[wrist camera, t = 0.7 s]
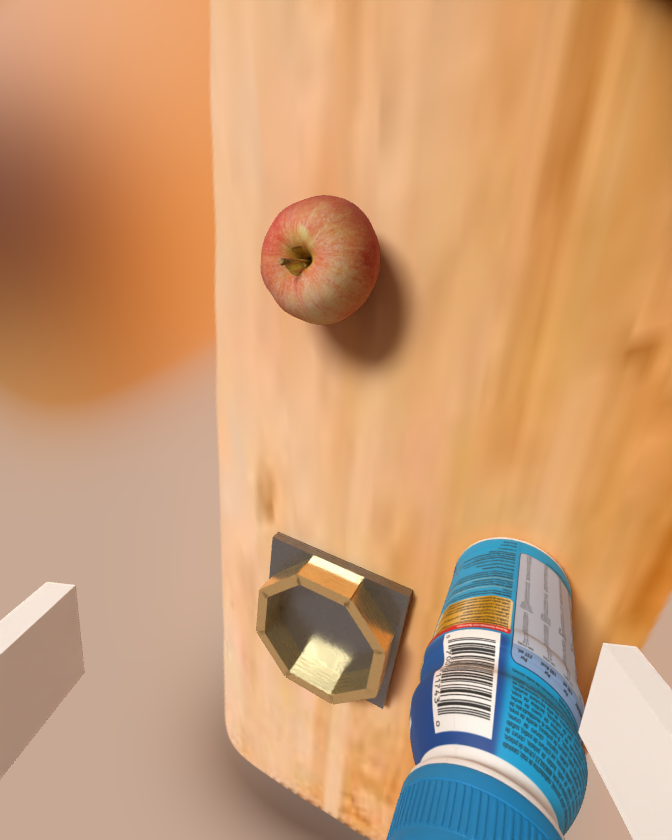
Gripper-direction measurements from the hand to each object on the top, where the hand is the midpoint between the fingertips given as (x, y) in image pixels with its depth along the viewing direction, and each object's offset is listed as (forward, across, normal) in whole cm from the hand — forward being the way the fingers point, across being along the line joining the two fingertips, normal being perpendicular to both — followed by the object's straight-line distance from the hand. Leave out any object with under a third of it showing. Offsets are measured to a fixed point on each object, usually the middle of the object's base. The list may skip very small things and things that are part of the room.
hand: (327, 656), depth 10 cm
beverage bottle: (+20, +13, -11) cm, 26 cm away
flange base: (+26, -1, -21) cm, 33 cm away
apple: (+24, -2, +12) cm, 27 cm away
